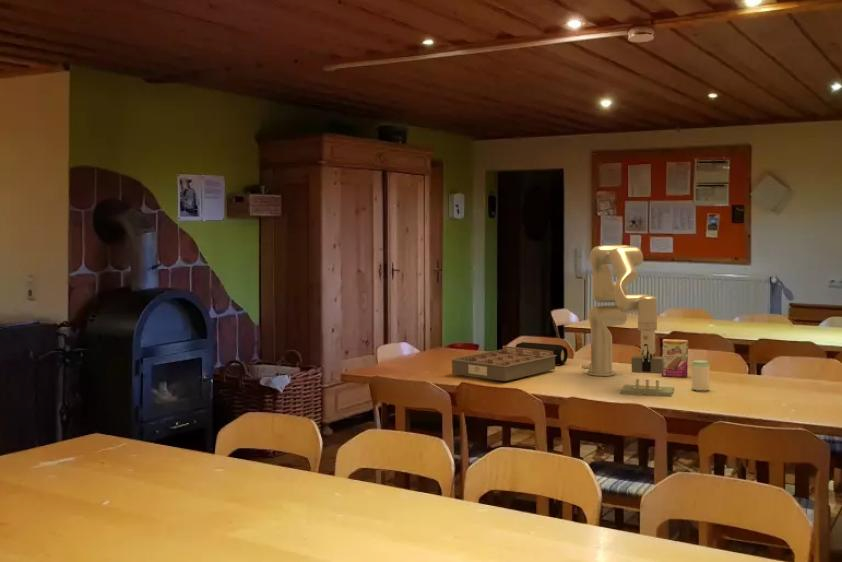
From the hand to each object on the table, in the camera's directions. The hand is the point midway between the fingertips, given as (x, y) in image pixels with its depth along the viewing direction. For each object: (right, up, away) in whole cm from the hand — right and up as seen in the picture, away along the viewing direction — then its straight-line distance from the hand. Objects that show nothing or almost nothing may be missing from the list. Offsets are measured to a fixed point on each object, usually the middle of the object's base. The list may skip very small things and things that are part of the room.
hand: (647, 369), depth 350 cm
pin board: (0, -9, +1) cm, 9 cm away
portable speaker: (-33, -5, +77) cm, 84 cm away
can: (+23, -9, +3) cm, 25 cm away
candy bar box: (+22, -7, +35) cm, 42 cm away
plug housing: (0, -1, 0) cm, 1 cm away
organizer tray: (-54, -7, +48) cm, 73 cm away
